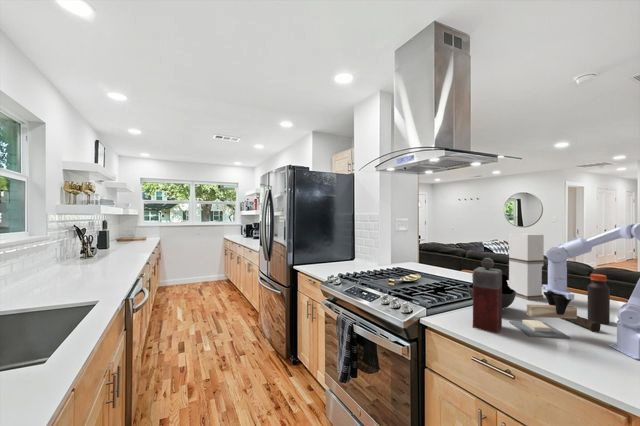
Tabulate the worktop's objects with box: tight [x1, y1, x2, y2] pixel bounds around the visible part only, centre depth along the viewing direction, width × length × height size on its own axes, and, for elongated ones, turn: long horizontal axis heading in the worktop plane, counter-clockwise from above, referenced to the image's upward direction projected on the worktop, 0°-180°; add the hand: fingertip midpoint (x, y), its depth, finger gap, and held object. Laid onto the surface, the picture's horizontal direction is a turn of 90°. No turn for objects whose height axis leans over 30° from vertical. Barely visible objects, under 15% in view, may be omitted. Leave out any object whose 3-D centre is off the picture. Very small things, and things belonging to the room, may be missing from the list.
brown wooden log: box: [560, 315, 602, 333], centre depth 120 cm, size 19×4×5 cm, turn 1°
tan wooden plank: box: [526, 303, 578, 319], centre depth 110 cm, size 3×16×4 cm, turn 83°
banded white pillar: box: [508, 232, 545, 301], centre depth 159 cm, size 11×11×35 cm
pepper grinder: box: [472, 257, 503, 334], centre depth 116 cm, size 9×11×28 cm
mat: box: [509, 320, 571, 340], centre depth 112 cm, size 14×14×1 cm
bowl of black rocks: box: [467, 268, 517, 310], centre depth 137 cm, size 20×20×19 cm
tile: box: [521, 319, 551, 332], centre depth 113 cm, size 2×6×8 cm
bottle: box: [587, 273, 611, 325], centre depth 122 cm, size 7×7×20 cm
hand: (557, 312), depth 110 cm, fingers closed on tan wooden plank, 3 cm apart
